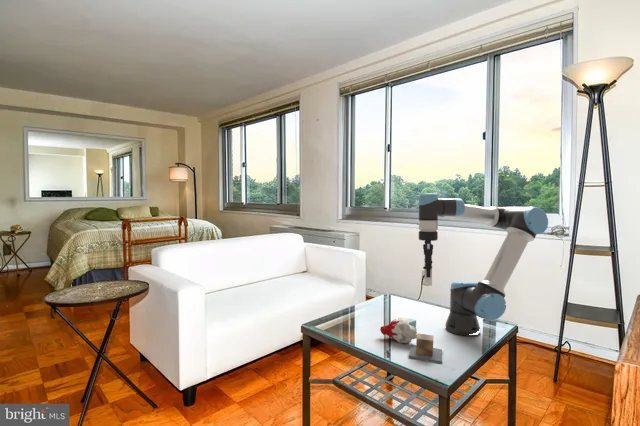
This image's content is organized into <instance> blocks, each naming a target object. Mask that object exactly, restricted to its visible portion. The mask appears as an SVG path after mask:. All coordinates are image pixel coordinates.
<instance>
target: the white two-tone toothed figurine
mask: <svg viewBox="0 0 640 426" xmlns="http://www.w3.org/2000/svg"><path fill="white" fill-rule="evenodd" d="M379 331H380V334H382V335H384V336H385V335H386V336H389V338H391V339H392V340H393V341H397V342H398V343H399V344H410V343H411V342H412V341H413V340H417V334H418V332H417V327H416V328H414V327H413V326H411V325H409V323H408V322H407V321H406V320H403V319H399V320H398V319H397V318H395V319H392V320H391V321H390V323H388V324H387V325H384V326H383V325H382V326H380V329H379Z"/></svg>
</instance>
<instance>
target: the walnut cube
mask: <svg viewBox="0 0 640 426" xmlns="http://www.w3.org/2000/svg"><path fill="white" fill-rule="evenodd" d="M415 345H416V354H419V355H425V356H431V357H433V348H434V335H433V334H432V335H431V334H426V333H418V332H417V338H416V343H415Z"/></svg>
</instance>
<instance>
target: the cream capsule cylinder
mask: <svg viewBox="0 0 640 426" xmlns="http://www.w3.org/2000/svg"><path fill="white" fill-rule="evenodd" d="M408 318H409V317H408ZM408 318H407V317H403V316H401V317H398V318H397V320H399V319H403V320H406V321H407V322H408V323H409V319H408Z"/></svg>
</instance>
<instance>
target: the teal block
mask: <svg viewBox="0 0 640 426" xmlns="http://www.w3.org/2000/svg"><path fill="white" fill-rule="evenodd" d="M408 319H409V325H411V326H413V327H414V328H416V329H417V320H416V319H412V318H409V317H408Z"/></svg>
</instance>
